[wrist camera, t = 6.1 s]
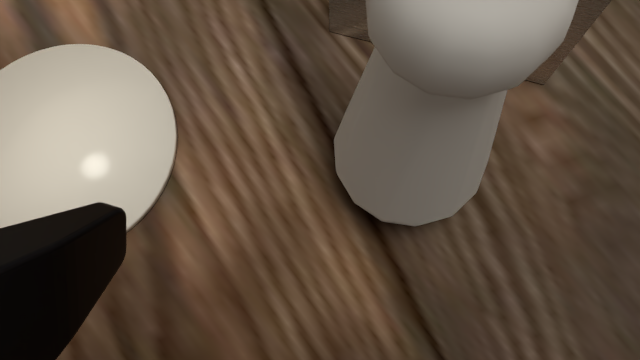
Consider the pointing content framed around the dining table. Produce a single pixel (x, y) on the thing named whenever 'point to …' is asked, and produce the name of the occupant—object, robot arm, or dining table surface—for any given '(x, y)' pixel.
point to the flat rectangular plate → (352, 22)
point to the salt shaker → (437, 99)
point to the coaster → (82, 134)
